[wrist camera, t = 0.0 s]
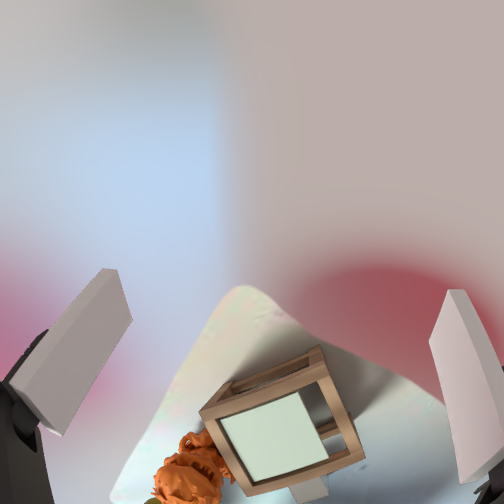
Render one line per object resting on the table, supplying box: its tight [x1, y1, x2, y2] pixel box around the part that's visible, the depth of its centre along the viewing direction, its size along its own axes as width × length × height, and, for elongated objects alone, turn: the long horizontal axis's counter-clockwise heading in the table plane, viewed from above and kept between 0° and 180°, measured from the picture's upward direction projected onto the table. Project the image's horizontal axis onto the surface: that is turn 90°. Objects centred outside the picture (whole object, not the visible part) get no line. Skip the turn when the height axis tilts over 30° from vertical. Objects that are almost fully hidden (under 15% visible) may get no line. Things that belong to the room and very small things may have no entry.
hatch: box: [218, 390, 329, 482], centre depth 34 cm, size 10×10×1 cm
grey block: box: [288, 474, 329, 504], centre depth 41 cm, size 5×5×6 cm
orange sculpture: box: [151, 429, 236, 504], centre depth 38 cm, size 11×11×18 cm
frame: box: [198, 345, 366, 497], centre depth 40 cm, size 14×16×12 cm
